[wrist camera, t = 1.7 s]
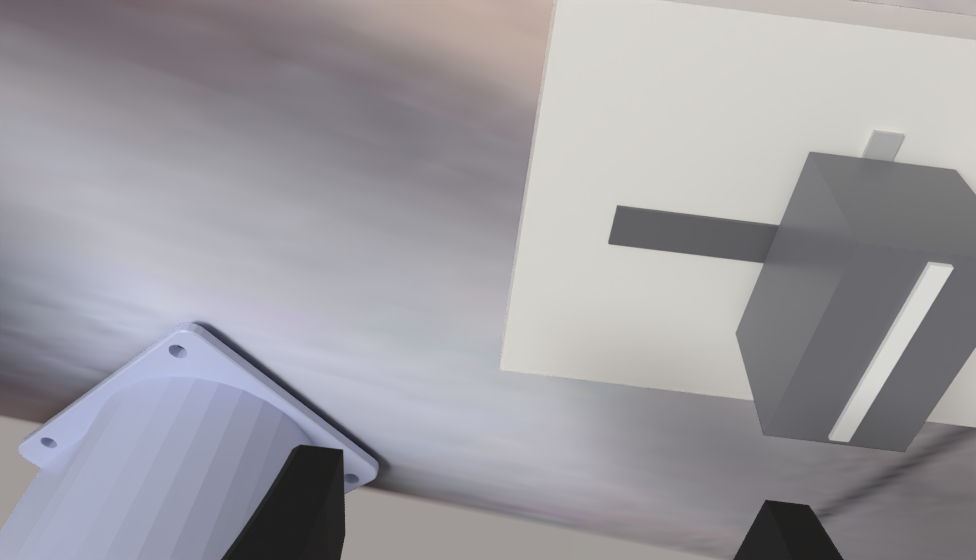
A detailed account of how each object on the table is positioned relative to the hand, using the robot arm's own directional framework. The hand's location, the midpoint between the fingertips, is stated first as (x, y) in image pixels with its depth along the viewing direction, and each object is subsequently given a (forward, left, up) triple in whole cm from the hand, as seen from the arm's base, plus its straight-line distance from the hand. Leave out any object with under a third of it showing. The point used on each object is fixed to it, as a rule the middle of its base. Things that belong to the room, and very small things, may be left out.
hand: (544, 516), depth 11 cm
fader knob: (+5, -5, -8) cm, 10 cm away
